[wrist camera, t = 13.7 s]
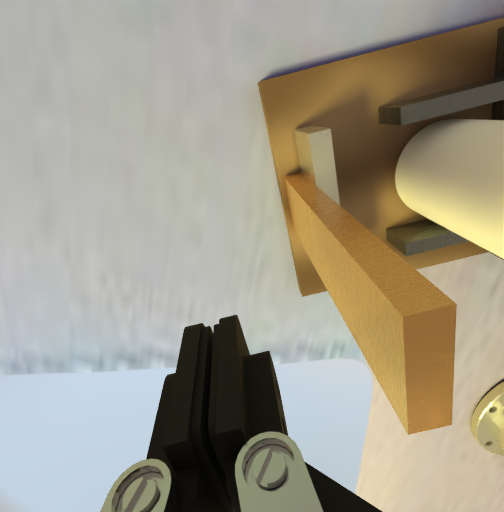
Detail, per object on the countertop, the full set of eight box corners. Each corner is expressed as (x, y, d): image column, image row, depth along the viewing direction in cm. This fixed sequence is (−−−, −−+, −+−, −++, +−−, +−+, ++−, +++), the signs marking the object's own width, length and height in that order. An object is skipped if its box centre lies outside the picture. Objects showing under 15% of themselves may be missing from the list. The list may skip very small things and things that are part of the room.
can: (375, 197, 24) (504, 272, 13) (421, 103, 21) (629, 97, 10) (449, 222, 25) (624, 310, 14) (500, 137, 22) (760, 163, 12)
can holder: (494, 245, 26) (525, 261, 23) (388, 270, 26) (407, 289, 23) (514, 24, 20) (560, 10, 17) (375, 60, 20) (398, 52, 17)
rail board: (509, 238, 27) (521, 244, 26) (299, 289, 28) (302, 296, 27) (534, 10, 21) (551, 4, 19) (258, 83, 21) (259, 81, 20)
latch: (330, 256, 25) (488, 476, 10) (300, 263, 25) (410, 493, 10) (311, 125, 21) (526, 163, 6) (275, 134, 21) (396, 195, 6)
